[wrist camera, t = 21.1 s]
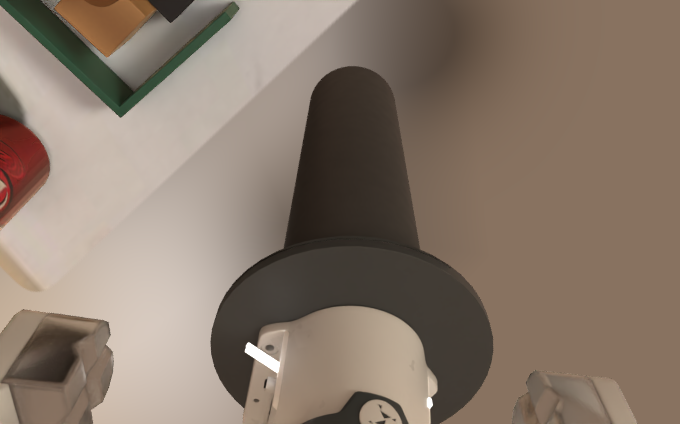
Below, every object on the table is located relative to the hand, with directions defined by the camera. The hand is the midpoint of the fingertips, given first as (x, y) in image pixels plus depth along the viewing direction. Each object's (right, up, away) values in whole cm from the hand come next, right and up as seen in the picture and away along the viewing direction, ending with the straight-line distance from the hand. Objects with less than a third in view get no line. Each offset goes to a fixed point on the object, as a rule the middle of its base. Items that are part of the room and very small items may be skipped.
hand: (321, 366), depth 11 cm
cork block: (-14, +17, +26) cm, 35 cm away
